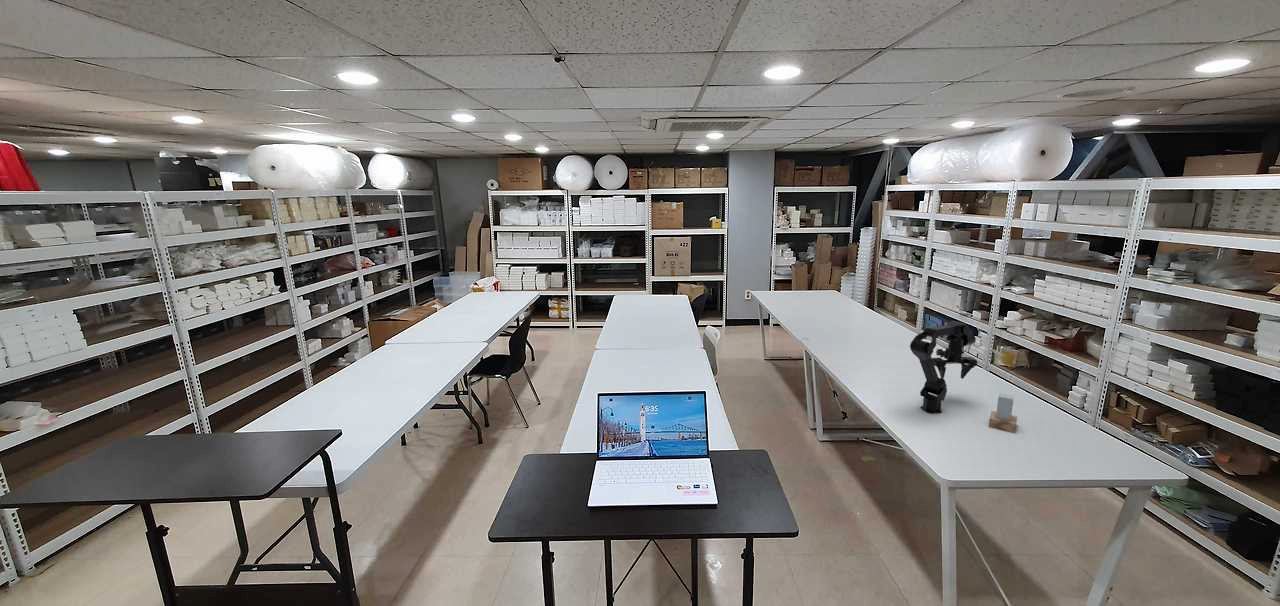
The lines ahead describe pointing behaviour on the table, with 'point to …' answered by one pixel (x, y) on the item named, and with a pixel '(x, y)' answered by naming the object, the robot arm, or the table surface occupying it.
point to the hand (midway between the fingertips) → (952, 378)
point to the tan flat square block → (1002, 423)
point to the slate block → (1004, 406)
